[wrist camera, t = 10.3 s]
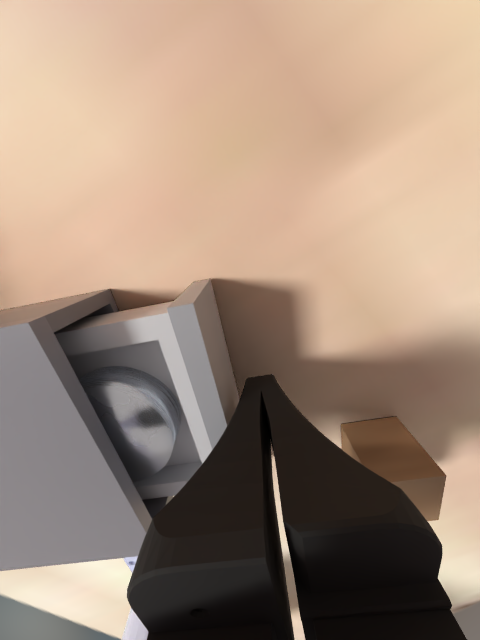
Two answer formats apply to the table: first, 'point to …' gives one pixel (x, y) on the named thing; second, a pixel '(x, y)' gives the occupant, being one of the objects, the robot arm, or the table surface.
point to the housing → (59, 450)
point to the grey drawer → (167, 370)
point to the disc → (135, 416)
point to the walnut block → (397, 460)
